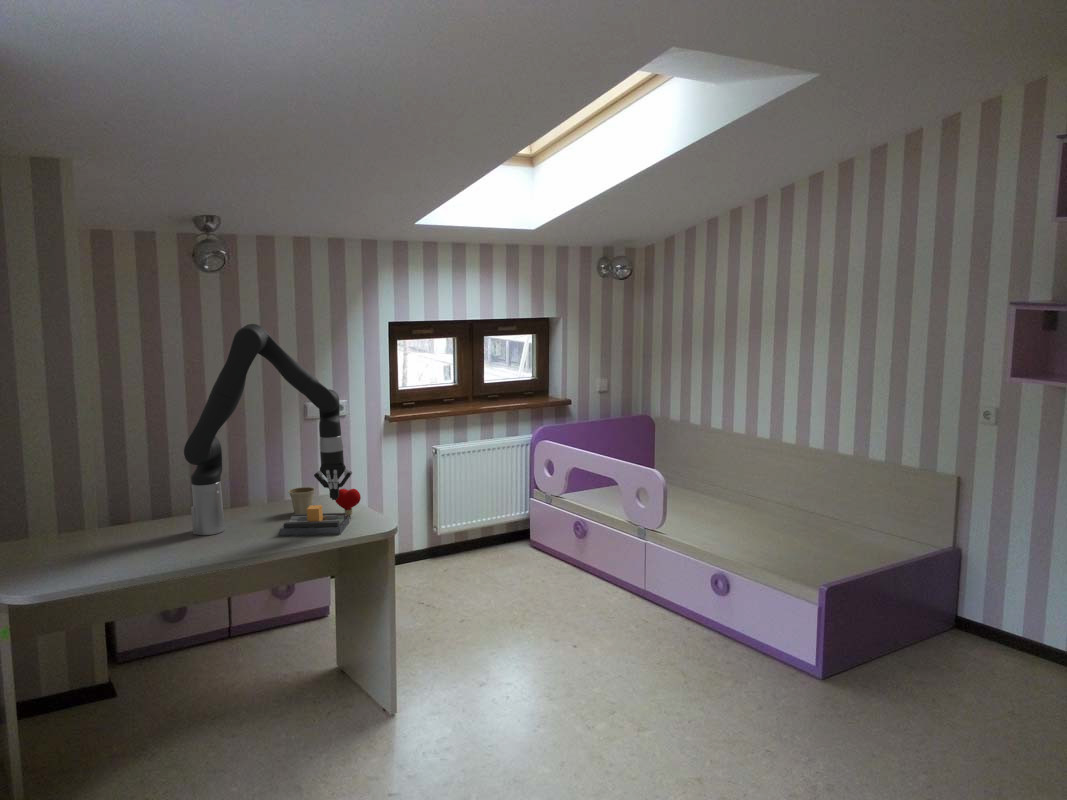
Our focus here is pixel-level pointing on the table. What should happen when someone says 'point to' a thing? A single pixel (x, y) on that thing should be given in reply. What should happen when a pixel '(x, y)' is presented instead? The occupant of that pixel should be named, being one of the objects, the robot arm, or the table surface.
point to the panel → (315, 530)
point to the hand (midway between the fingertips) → (334, 499)
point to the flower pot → (301, 499)
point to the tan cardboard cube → (314, 513)
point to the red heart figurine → (348, 499)
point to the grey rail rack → (313, 524)
